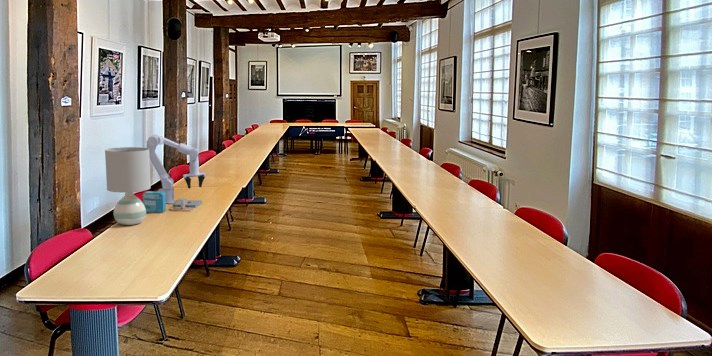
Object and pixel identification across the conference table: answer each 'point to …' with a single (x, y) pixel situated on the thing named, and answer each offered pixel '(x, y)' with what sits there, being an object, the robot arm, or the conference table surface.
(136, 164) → the lamp
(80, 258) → the conference table surface
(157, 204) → the blue box
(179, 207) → the tile
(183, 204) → the t key
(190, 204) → the cover plate
